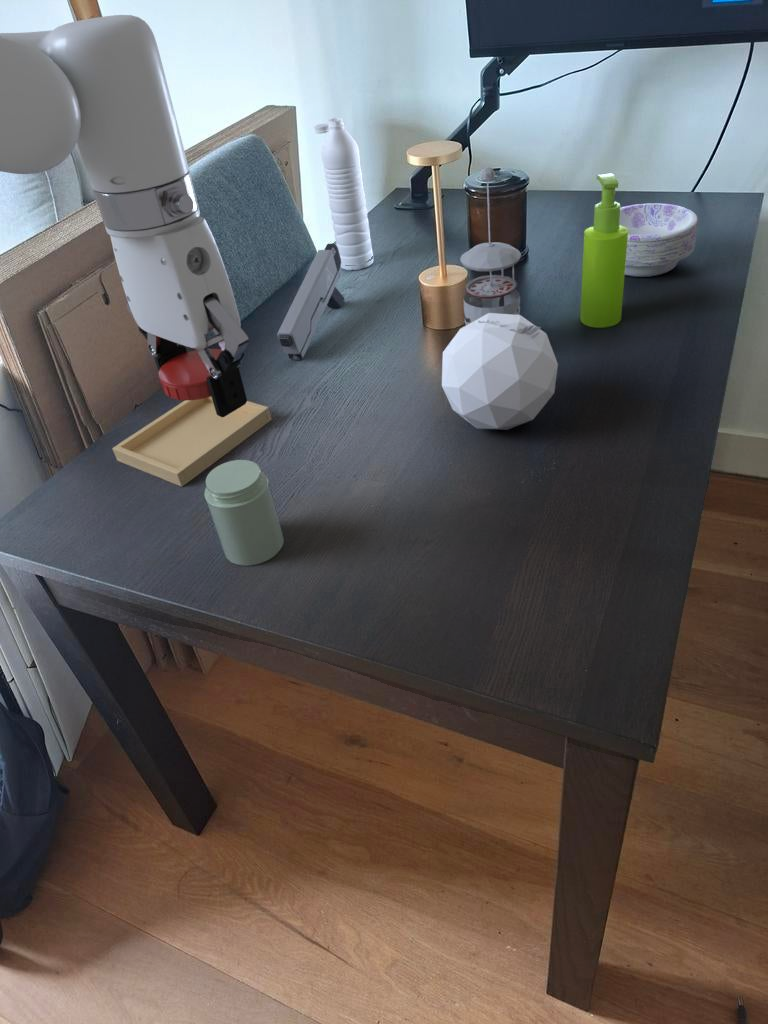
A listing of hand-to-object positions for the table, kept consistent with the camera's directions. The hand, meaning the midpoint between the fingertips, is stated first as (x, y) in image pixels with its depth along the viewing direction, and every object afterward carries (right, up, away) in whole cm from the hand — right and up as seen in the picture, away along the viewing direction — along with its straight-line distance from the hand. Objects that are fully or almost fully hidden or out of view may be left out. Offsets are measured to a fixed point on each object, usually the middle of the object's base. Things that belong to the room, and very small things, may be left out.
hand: (205, 397), depth 71 cm
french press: (+33, +13, +40) cm, 54 cm away
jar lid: (0, +2, -2) cm, 3 cm away
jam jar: (+3, -14, +11) cm, 19 cm away
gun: (+6, +18, +52) cm, 55 cm away
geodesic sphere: (+31, +1, +25) cm, 40 cm away
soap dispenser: (+49, +18, +43) cm, 68 cm away
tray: (-8, -1, +30) cm, 31 cm away
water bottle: (+11, +35, +71) cm, 80 cm away
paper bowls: (+60, +30, +55) cm, 87 cm away
